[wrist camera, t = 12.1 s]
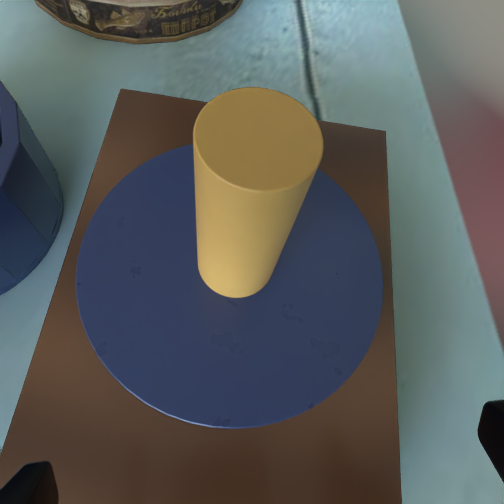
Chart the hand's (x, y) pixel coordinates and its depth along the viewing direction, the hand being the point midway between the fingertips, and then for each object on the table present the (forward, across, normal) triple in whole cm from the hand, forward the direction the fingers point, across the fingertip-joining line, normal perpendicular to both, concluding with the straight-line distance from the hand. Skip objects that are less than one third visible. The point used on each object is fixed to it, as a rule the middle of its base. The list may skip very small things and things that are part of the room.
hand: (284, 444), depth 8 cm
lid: (+8, 0, -1) cm, 8 cm away
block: (+11, 0, +3) cm, 11 cm away
